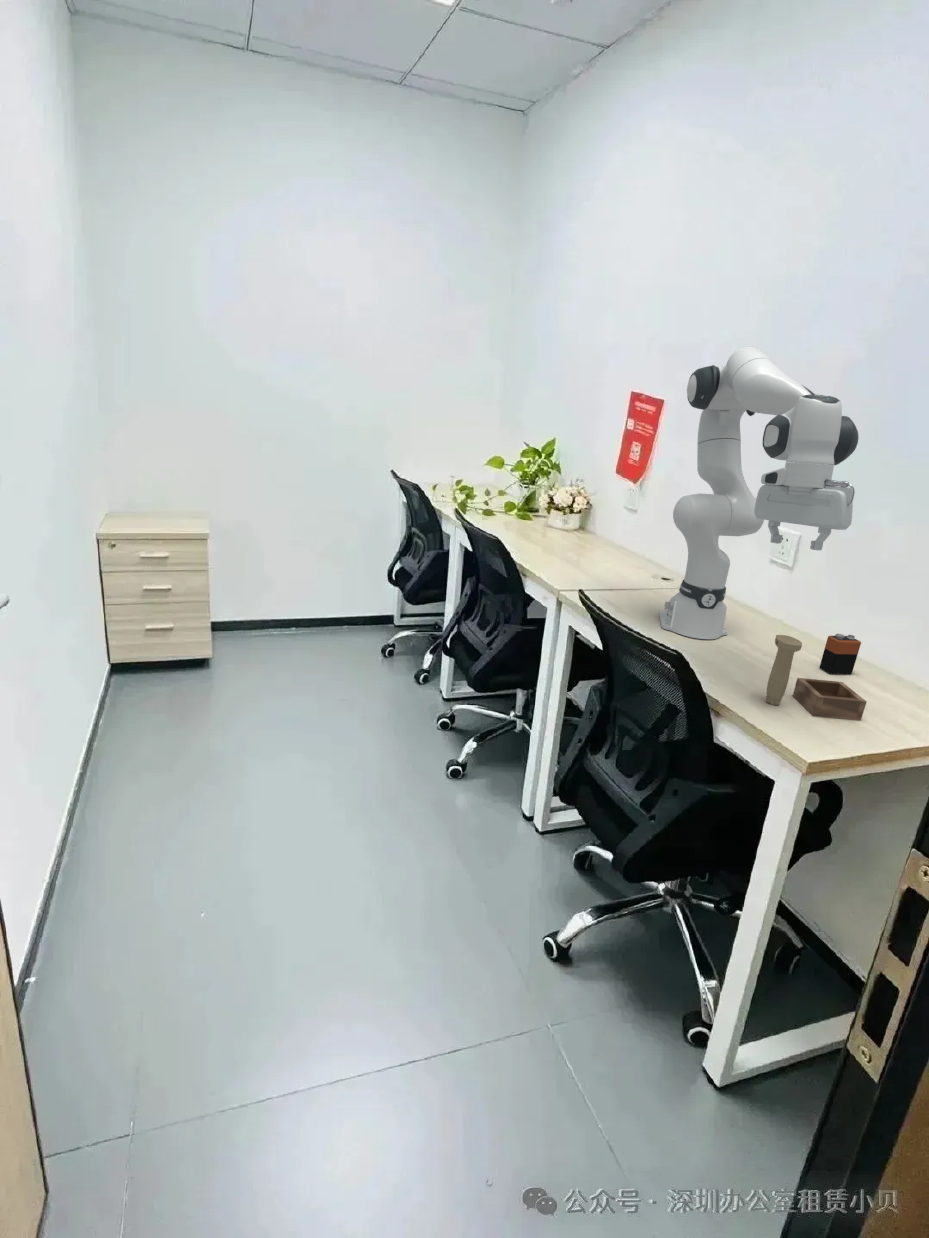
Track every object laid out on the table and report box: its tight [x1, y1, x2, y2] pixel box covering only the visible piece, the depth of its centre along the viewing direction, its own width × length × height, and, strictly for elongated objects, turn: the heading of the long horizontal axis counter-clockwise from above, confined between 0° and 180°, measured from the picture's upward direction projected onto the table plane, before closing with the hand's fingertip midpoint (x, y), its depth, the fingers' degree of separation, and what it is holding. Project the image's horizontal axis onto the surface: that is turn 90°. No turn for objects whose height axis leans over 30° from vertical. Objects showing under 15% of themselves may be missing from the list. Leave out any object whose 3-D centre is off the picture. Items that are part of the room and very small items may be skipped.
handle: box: [765, 634, 803, 706], centre depth 152 cm, size 5×6×15 cm
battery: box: [819, 633, 862, 675], centre depth 176 cm, size 4×7×10 cm, turn 102°
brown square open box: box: [792, 677, 867, 721], centre depth 154 cm, size 10×10×4 cm
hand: (795, 546), depth 143 cm, fingers open, 8 cm apart
